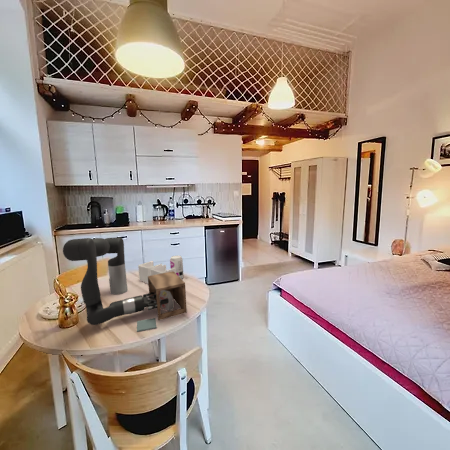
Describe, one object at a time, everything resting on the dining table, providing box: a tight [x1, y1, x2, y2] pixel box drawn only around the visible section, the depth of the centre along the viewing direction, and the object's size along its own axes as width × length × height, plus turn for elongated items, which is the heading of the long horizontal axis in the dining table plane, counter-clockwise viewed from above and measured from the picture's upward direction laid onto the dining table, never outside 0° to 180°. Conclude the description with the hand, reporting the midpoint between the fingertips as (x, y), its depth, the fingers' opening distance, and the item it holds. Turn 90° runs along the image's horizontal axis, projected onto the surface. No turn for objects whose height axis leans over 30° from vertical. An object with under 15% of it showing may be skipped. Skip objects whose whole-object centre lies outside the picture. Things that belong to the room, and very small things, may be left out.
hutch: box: [147, 271, 188, 321], centre depth 131 cm, size 14×19×16 cm
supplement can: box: [169, 255, 184, 280], centre depth 172 cm, size 8×8×15 cm
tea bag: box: [159, 290, 175, 312], centre depth 131 cm, size 4×7×10 cm, turn 57°
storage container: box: [137, 260, 176, 285], centre depth 167 cm, size 25×11×11 cm, turn 51°
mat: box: [136, 317, 158, 333], centre depth 117 cm, size 8×8×1 cm
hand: (166, 297), depth 131 cm, fingers open, 8 cm apart
